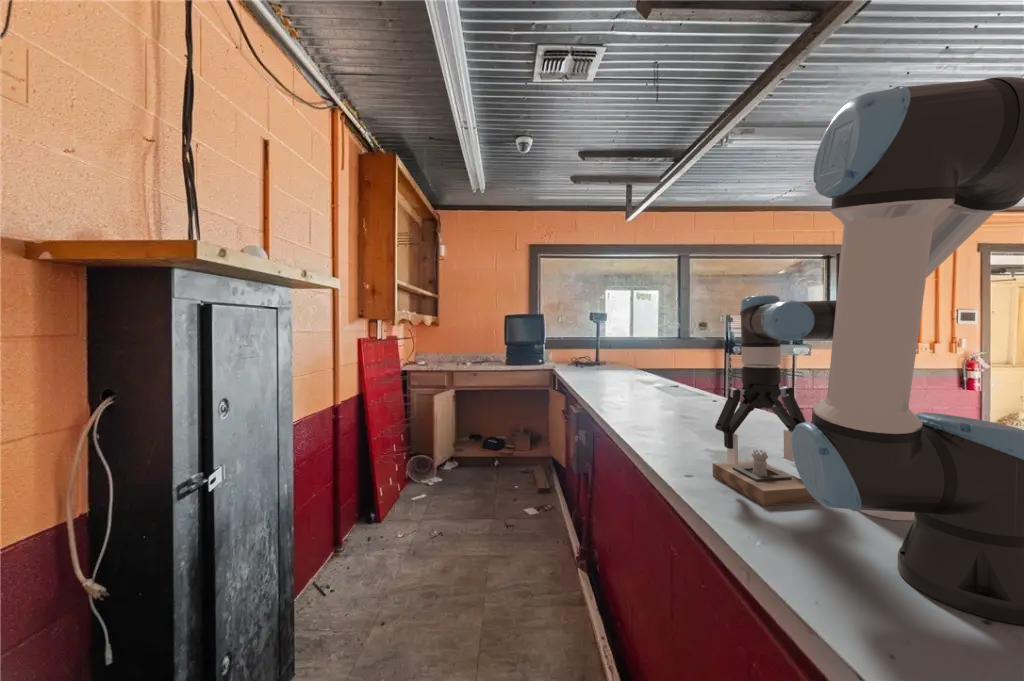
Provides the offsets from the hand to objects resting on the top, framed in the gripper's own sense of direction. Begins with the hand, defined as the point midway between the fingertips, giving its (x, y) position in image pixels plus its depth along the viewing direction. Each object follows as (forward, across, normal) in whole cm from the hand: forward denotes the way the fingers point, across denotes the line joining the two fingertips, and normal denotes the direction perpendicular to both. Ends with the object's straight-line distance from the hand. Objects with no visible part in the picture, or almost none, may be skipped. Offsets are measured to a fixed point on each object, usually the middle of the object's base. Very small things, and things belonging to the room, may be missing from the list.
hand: (761, 461), depth 95 cm
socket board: (+6, 0, 0) cm, 6 cm away
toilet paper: (+6, -15, +14) cm, 21 cm away
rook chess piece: (+6, 0, -1) cm, 6 cm away
